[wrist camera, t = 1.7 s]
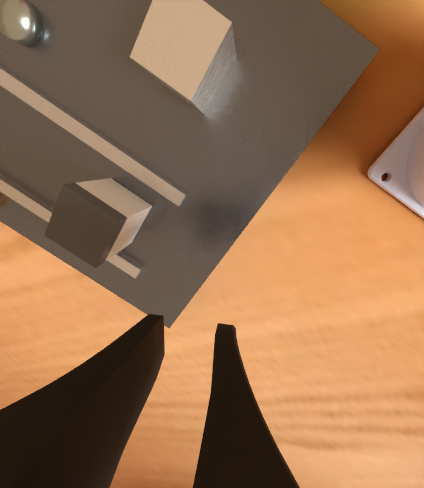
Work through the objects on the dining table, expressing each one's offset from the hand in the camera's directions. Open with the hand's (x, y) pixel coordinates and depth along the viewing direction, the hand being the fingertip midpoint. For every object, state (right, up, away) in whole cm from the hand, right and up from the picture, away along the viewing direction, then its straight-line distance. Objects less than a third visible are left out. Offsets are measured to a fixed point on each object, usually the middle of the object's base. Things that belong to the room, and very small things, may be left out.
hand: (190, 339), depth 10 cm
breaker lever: (-5, +6, +5) cm, 9 cm away
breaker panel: (-5, +11, +6) cm, 14 cm away
